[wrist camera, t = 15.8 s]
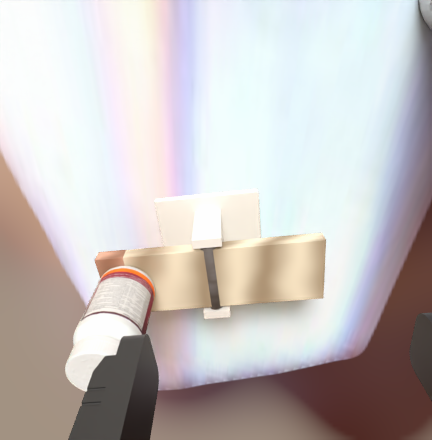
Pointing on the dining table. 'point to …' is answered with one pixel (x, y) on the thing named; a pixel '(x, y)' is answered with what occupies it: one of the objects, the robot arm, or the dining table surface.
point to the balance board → (228, 271)
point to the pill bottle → (109, 320)
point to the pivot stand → (209, 223)
